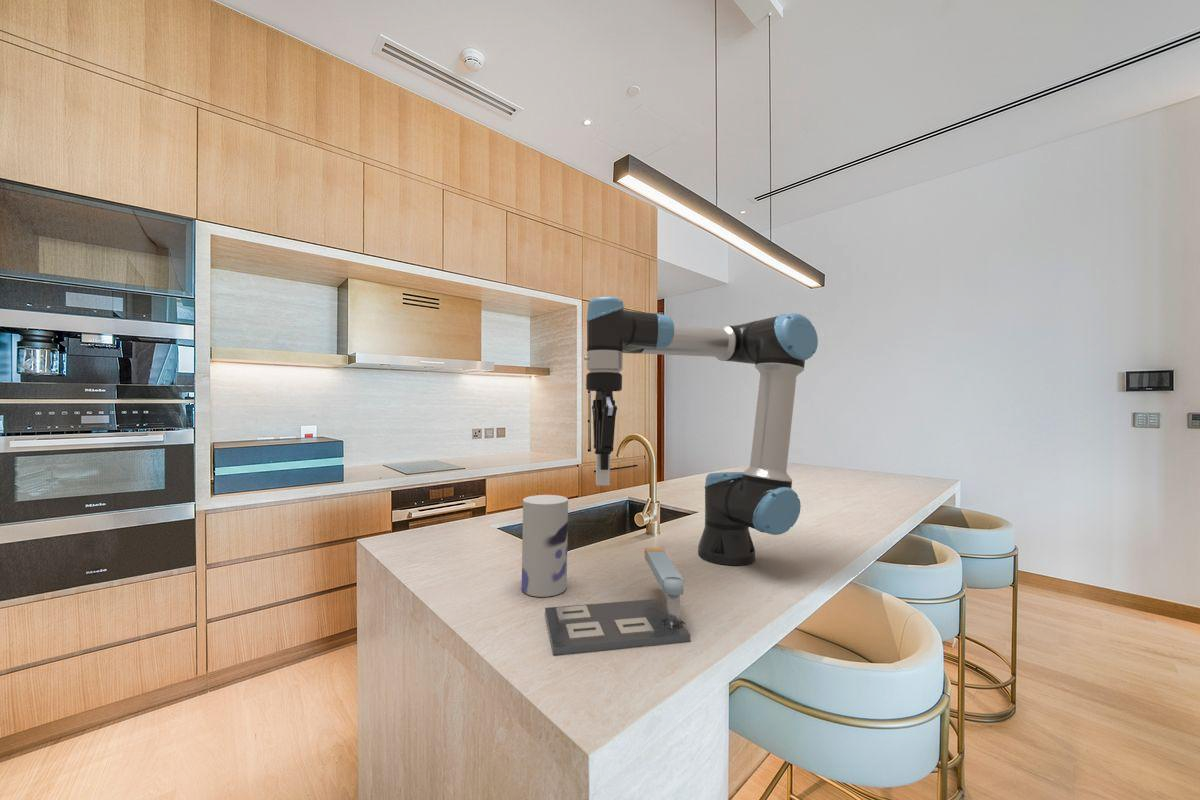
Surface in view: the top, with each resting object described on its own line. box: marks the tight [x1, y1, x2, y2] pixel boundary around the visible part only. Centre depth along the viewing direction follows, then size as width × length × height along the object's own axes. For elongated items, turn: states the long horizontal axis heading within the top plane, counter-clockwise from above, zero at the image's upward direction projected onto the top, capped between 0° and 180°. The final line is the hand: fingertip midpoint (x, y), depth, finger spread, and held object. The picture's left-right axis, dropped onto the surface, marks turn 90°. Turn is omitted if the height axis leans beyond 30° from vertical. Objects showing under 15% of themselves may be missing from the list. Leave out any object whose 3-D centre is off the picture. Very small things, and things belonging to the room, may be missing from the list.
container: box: [521, 494, 569, 598], centre depth 102 cm, size 10×10×20 cm
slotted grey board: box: [544, 598, 692, 656], centre depth 84 cm, size 24×15×2 cm, turn 102°
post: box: [661, 594, 686, 629], centre depth 84 cm, size 4×4×7 cm
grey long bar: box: [643, 547, 685, 596], centre depth 92 cm, size 21×4×2 cm, turn 4°
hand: (602, 484), depth 95 cm, fingers closed
